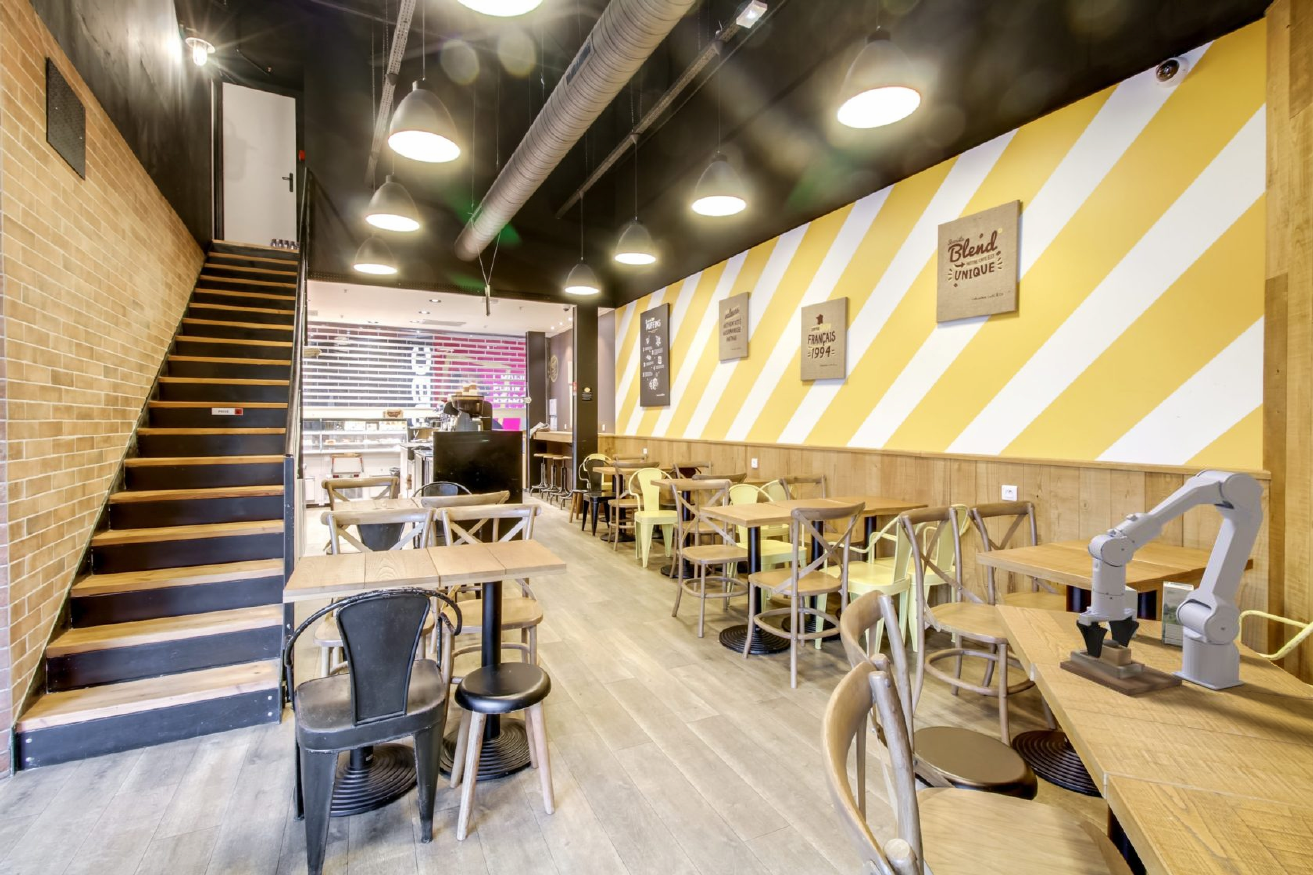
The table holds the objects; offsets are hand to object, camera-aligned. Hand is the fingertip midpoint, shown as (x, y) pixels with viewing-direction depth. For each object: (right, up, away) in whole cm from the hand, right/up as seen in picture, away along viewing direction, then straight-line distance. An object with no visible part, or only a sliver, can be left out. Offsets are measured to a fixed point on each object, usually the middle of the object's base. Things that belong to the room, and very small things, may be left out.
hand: (1106, 654), depth 130 cm
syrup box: (+30, -4, +17) cm, 35 cm away
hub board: (+2, -4, -1) cm, 5 cm away
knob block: (0, -3, 0) cm, 3 cm away
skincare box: (+22, -4, +24) cm, 33 cm away
